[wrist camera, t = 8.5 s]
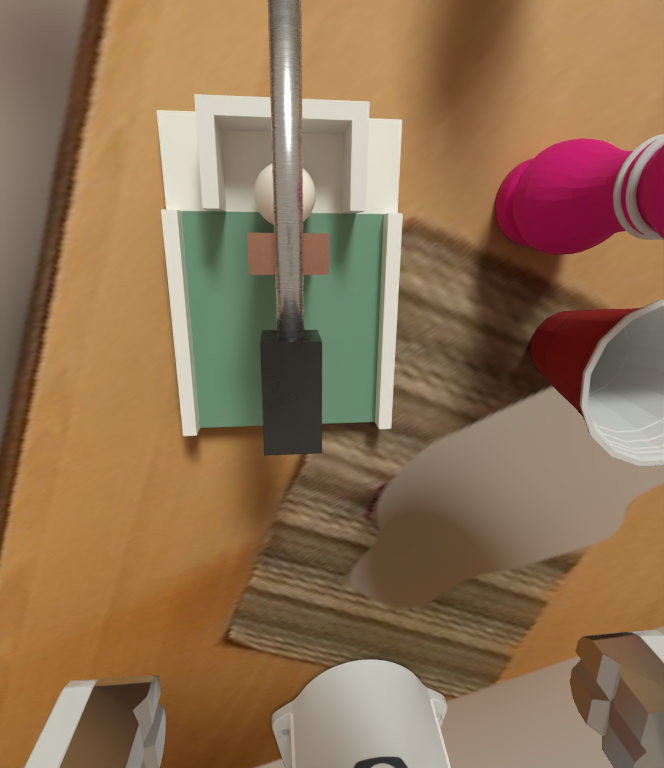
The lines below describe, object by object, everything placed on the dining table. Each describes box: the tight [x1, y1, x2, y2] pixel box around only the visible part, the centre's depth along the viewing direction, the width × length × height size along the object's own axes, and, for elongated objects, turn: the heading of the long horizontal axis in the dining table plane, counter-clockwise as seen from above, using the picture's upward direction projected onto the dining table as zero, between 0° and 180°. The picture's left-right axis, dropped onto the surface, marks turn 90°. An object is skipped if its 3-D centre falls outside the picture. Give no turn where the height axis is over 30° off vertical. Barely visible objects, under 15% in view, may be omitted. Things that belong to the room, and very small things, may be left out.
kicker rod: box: [247, 0, 329, 456], centre depth 26 cm, size 23×4×12 cm, turn 0°
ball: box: [254, 164, 316, 225], centre depth 30 cm, size 4×4×4 cm
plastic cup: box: [530, 299, 664, 466], centre depth 33 cm, size 11×11×12 cm
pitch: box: [157, 94, 403, 436], centre depth 32 cm, size 22×16×6 cm
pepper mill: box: [496, 134, 664, 255], centre depth 26 cm, size 7×7×20 cm
